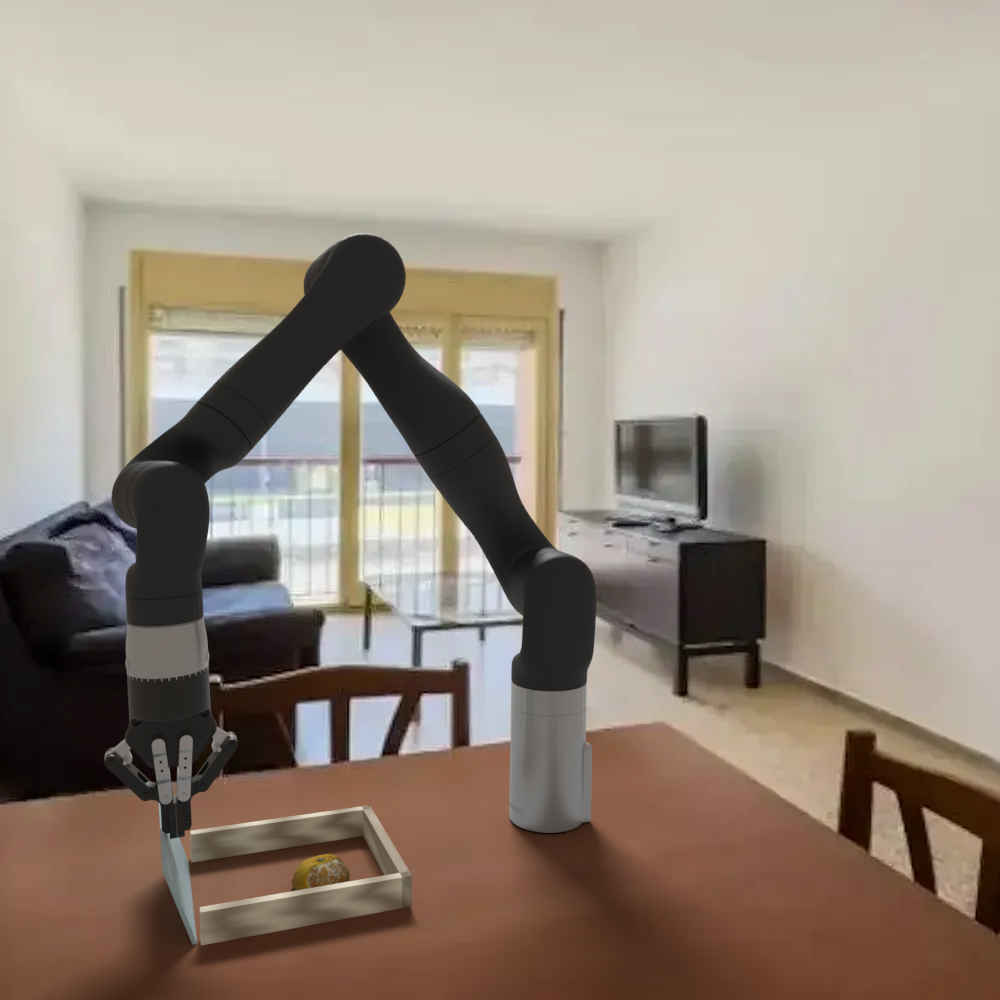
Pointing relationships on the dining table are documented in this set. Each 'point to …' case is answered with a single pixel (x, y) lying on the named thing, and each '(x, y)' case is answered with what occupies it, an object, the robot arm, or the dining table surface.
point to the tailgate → (178, 878)
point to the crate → (304, 903)
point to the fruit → (320, 872)
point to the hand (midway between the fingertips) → (176, 834)
